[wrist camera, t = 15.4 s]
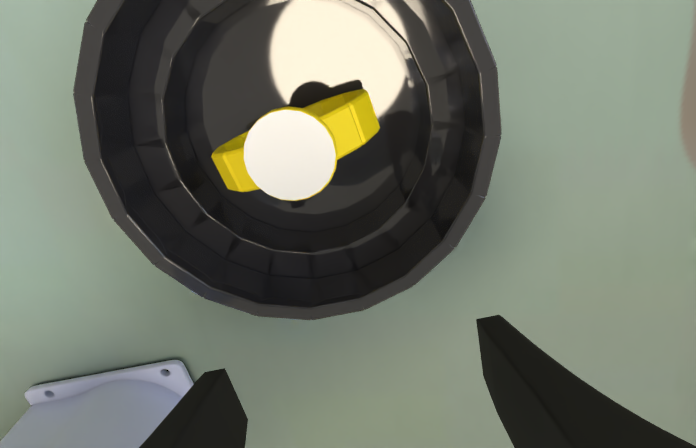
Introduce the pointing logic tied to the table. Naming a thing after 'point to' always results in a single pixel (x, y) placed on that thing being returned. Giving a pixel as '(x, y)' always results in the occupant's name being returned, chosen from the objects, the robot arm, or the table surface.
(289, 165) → the watch
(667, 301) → the table surface
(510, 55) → the table surface
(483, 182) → the bowl
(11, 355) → the table surface
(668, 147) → the table surface
